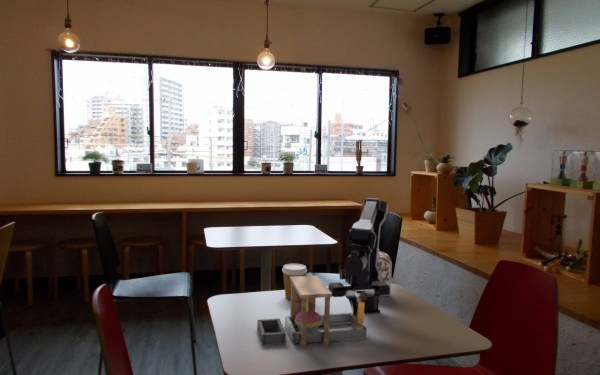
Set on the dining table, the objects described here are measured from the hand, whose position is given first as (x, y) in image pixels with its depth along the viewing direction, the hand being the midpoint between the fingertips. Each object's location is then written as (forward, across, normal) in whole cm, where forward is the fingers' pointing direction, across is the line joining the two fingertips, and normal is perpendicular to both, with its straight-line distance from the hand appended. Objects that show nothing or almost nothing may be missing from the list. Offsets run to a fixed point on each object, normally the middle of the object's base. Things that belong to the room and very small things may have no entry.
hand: (357, 315), depth 136 cm
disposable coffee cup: (+5, +14, -32) cm, 35 cm away
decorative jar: (+5, -18, -34) cm, 39 cm away
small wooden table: (+5, +16, 0) cm, 17 cm away
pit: (+5, +28, 0) cm, 28 cm away
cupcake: (+5, +16, 0) cm, 17 cm away
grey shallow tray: (+5, +10, 0) cm, 12 cm away
